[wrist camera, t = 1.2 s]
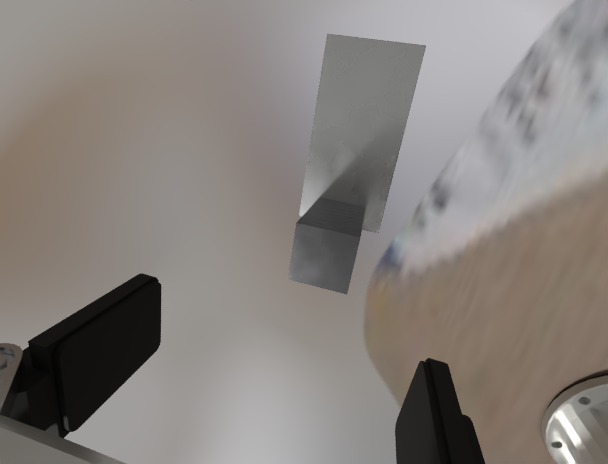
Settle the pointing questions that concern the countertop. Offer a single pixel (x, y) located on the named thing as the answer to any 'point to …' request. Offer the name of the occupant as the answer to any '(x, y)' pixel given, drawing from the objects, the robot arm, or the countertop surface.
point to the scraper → (351, 153)
